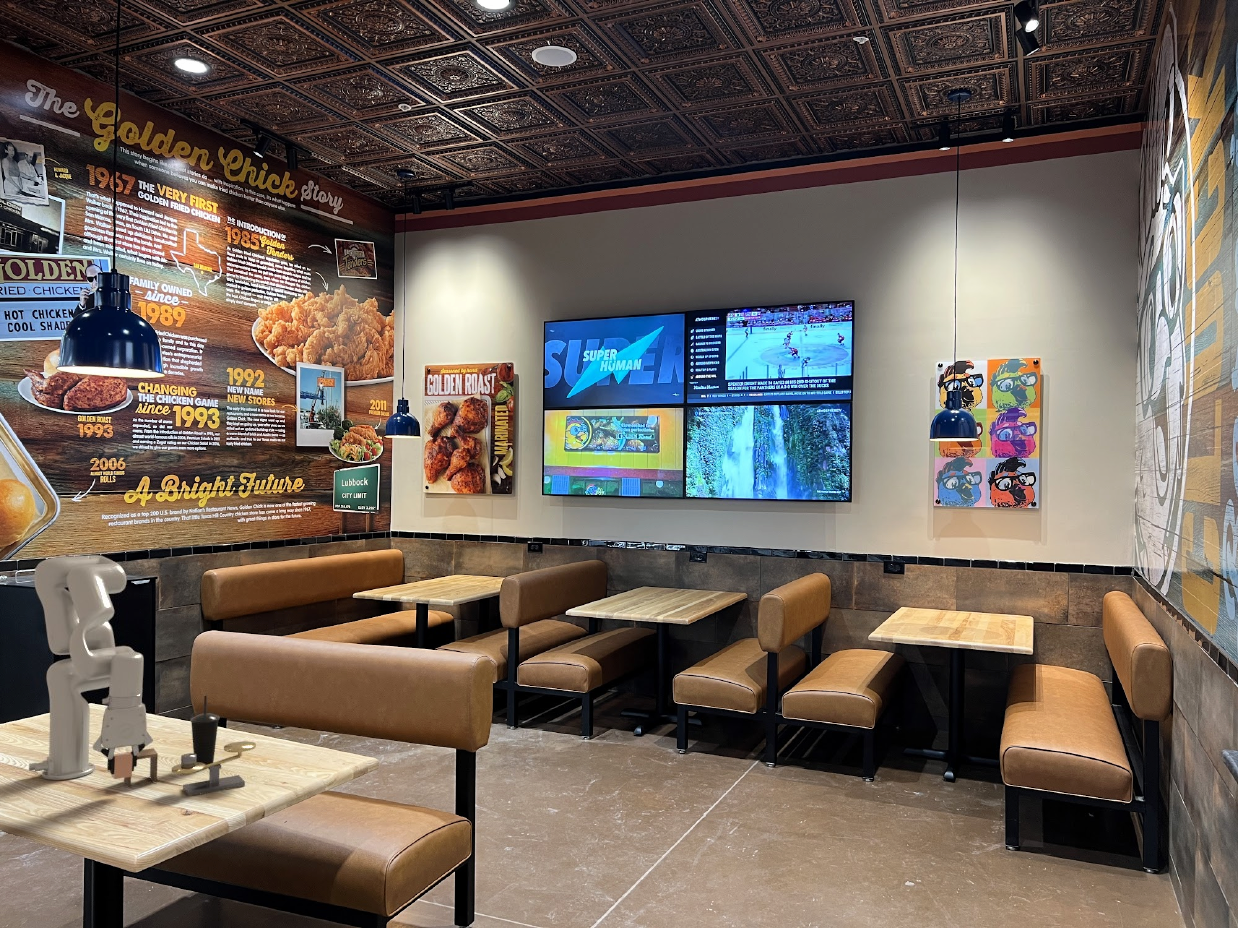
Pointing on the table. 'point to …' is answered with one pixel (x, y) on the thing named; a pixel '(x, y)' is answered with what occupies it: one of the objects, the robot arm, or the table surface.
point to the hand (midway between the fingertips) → (121, 770)
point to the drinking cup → (204, 735)
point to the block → (122, 765)
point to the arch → (153, 764)
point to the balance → (212, 770)
